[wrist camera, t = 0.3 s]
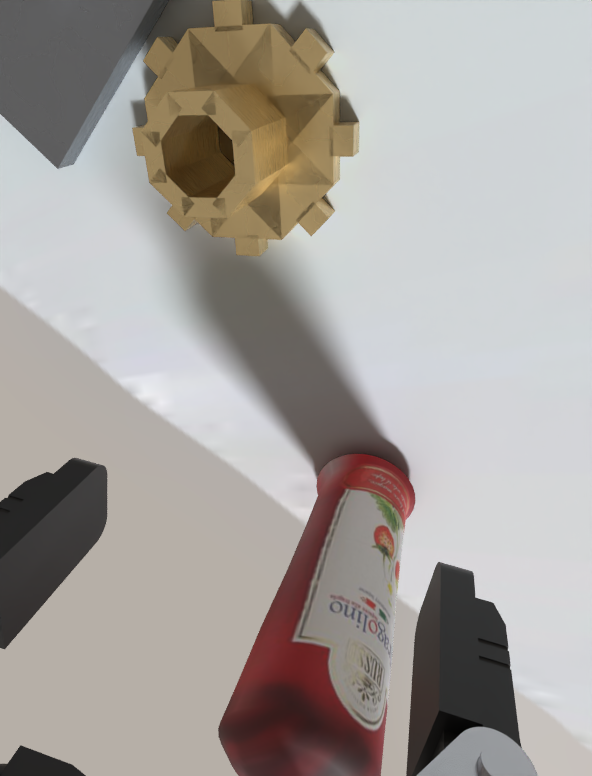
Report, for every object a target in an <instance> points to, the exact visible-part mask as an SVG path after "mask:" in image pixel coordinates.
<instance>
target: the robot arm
mask: <svg viewBox="0 0 592 776" xmlns="http://www.w3.org/2000/svg"><path fill="white" fill-rule="evenodd" d="M106 520H107V470H106V468H105V466H103V465H99V464H96V463H92V462H89V461H85V460H81V459H78V458H73V459H71V460H69V461H68V462H67V463H66V464H65V465H63V466H62V467H61V468H60V469H59V470H58V471H56V472H55V473H54V474H52V473H49V472H46V473H44V474H41V475H39V476H37V477H34V478H32V479H30V480H27V481H25V482H24V483H23V484H22V485H20V486H19V487H18V488H17V489H15V490H14V491H13V492H12V493H11V494H9V496H8V498H4V499H3V500H2V501H1V502H0V648H2V649H5V648H6V647H7V646H8V645H9V644H10V642H11V641H12V640H13V639H14V638H15V637H16V635H17V634H18V633H19V632H20V631H21V630H22V628H23V627H24V626H25V625H26V624H27V623H28V621H29V620H30V619H31V618H32V617H33V616H34V615H35V613H36V612H37V611H38V610H39V609H40V607H41V606H42V605H43V604H44V603H45V602H46V601H47V599H48V598H49V597H50V596H51V595H52V593H53V592H54V591H55V590H56V589H57V588H58V586H59V585H60V584H61V583H62V582H63V581H64V579H65V578H66V577H67V576H68V575H69V574H70V573H71V571H72V570H73V569H74V568H75V567H76V566H77V564H78V563H79V562H80V561H81V560H82V559H83V557H84V556H85V555H86V554H87V553H88V552H89V550H90V549H91V548H92V547H93V546H94V544H95V543H96V542H97V541H98V540H99V538H100V536H101V534H102V532H103V530H104V527H105V524H106ZM0 776H85V775H84V774H83V773H81V772H80V771H79V770H78V769H77V768H75V767H74V766H73V765H71V764H68V763H66V762H63V761H61V760H58V759H55V758H52V757H50V756H47V755H44V754H42V753H39V752H37V751H34V750H31V749H29V748H26V747H23V746H20V747H19V748H18V750H17V751H16V753H15V754H14V755H13V757H12V759H11V760H10V761H9V763H8V764H0ZM407 776H538V775H537V772H536V770H535V768H534V765H533V764H532V762H531V760H530V759H529V757H528V756H527V755H526V753H525V752H524V750H522V747H521V743H520V738H519V731H518V722H517V714H516V706H515V698H514V689H513V681H512V673H511V670H510V657H509V651H508V641H507V633H506V625H505V623H504V621H503V620H502V618H501V616H500V614H499V612H498V611H497V609H496V607H495V605H494V603H492V602H488V601H485V600H482V599H478V598H475V586H474V575H473V572H472V571H469V570H465V569H462V568H458V567H455V566H451V565H448V564H444V563H441V562H438V564H437V565H436V568H435V570H434V573H433V576H432V579H431V582H430V585H429V587H428V590H427V593H426V596H425V599H424V602H423V605H422V607H421V610H420V614H419V618H418V622H417V627H416V633H415V642H414V659H413V675H412V692H411V709H410V725H409V742H408V758H407Z"/></svg>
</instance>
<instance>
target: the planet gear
mask: <svg viewBox="0 0 592 776" xmlns="http://www.w3.org/2000/svg"><path fill="white" fill-rule="evenodd" d="M212 5H213V16H214V26H215V27H204V28H188V29H187V31H186V33H185V34H184V36H183V37H182V39H181V41H180V42H179V44H178V43H177V42H176V41H175V40H174V39H173V38H172V37H157V38H156V40H155V42H154V43H153V45H152V47H151V48H150V50H149V52H148V54H147V55H146V57H145V59H144V60H143V62H144V63H145V64H146V65H147V66H148V67H149V68H150V69H151V70H152V71H153V72H154V73H155V74H156V75H157V76H158V78H157V79H156V81H155V82H154V84H153V86H152V87H151V89H150V90H149V92H148V94H147V95H146V97H145V98H144V100H145V106H146V112H147V118H148V122H147V123H146V125H142V126H138V127H134V128H132V129H133V135H134V141H135V146H136V152H137V156H145V159H146V165H147V171H148V177H149V183H150V184H151V185H152V186H153V187H154V188H155V189H156V190H157V191H158V192H159V193H160V194H162V195H163V196H164V197H165V198H166V199H167V200H168V201H169V202H170V203H171V204H172V207H171V208H170V209H169V211H168V212H167V214H168V215H169V216H170V217H171V218H172V219H173V220H174V221H175V222H176V223H177V224H178V225H179V226H180V227H181V228H182V229H183V230H184V231H186V230H187V229H189V228H191V227H192V226H194V225H195V224H196V223H197V222H198V223H199V224H200V225H201V226H202V227H203V228H204V229H205V230H206V231H207V232H208V233H209V234H210V235H211V236H212V237H230V238H235V244H236V254H237V255H246V256H260V255H261V254H262V253H264V252H265V251H266V250H267V249H268V242H267V239H277V240H282V239H283V238H284V237H285V236H286V235H287V234H288V233H289V232H290V231H291V230H292V229H293V228H294V227H295V226H296V225H297V224H298V223H299V224H300V225H301V226H302V227H303V228H304V229H305V230H306V231H307V232H308V233H309V234H310V235H311V236H312V235H313V234H314V233H315V232H316V231H317V230H318V229H319V228H320V227H321V226H322V225H323V224H324V223H325V222H326V221H327V220H328V219H329V217H330V216H331V215H332V214H333V213H334V212H335V211H334V210H333V209H332V208H331V206H330V205H329V204H328V203H327V202H326V201H325V200H324V199H323V198H322V197H323V196H324V195H325V194H326V193H327V192H328V191H329V190H330V189H331V188H332V187H333V186H334V185H335V184H336V183H337V182H338V180H339V179H340V156H352V157H353V156H354V155H355V154H357V153H358V152H359V122H340V91H339V90H338V89H337V88H336V87H335V86H334V85H333V83H332V82H331V81H330V80H329V79H328V78H327V77H326V76H325V74H324V73H323V72H322V71H321V68H322V67H323V66H324V65H325V63H326V62H327V61H328V60H329V58H330V57H331V56H332V55H333V53H334V51H333V50H332V49H331V48H330V47H329V46H328V44H327V43H326V42H325V41H324V40H323V39H322V38H321V36H320V35H319V34H318V33H317V32H316V31H315V30H314V29H309V28H306V29H305V30H304V31H303V33H302V34H301V35H300V37H299V38H298V39H297V41H296V42H295V41H294V40H293V38H292V37H291V36H290V35H289V34H288V33H287V32H286V31H285V29H284V28H283V27H282V26H281V25H280V24H271V23H270V24H254V25H253V16H252V1H248V0H221V1H212ZM218 126H219V127H220V128H221V129H222V130H223V131H224V132H225V133H226V134H227V135H228V137H229V138H230V139H231V140H232V143H233V154H234V165H235V166H234V165H233V164H232V163H231V162H230V161H229V160H228V159H227V158H226V157H225V156H224V155H223V154H222V153H221V152H220V144H219V134H218Z"/></svg>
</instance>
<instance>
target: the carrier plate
mask: <svg viewBox="0 0 592 776" xmlns="http://www.w3.org/2000/svg"><path fill="white" fill-rule="evenodd" d="M168 1H169V0H0V114H1V115H2V116H3V117H4V118H5V119H6V120H7V121H8V122H9V123H11V124H12V125H13V126H14V127H15V128H16V129H17V130H18V131H19V132H20V133H21V134H22V135H23V136H24V137H25V138H26V139H27V140H28V141H29V142H30V143H31V144H32V145H33V146H35V147H36V148H37V149H38V150H39V151H40V152H41V153H42V154H43V155H44V156H45V157H46V158H47V159H48V160H49V161H50V162H51V163H52V164H53V165H54V166H55V167H56V168H57V169H59V168H62V167H66V166H69V165H72V164H74V162H75V160H76V159H77V157H78V155H79V154H80V152H81V150H82V148H83V147H84V145H85V143H86V142H87V140H88V138H89V136H90V135H91V133H92V131H93V130H94V128H95V126H96V124H97V123H98V121H99V119H100V118H101V116H102V114H103V112H104V111H105V109H106V107H107V106H108V104H109V102H110V100H111V99H112V97H113V95H114V94H115V92H116V90H117V88H118V87H119V85H120V83H121V82H122V80H123V78H124V76H125V75H126V73H127V71H128V70H129V68H130V66H131V64H132V63H133V61H134V59H135V58H136V56H137V54H138V52H139V51H140V49H141V47H142V46H143V44H144V42H145V40H146V39H147V37H148V35H149V34H150V32H151V30H152V28H153V27H154V25H155V23H156V22H157V20H158V18H159V16H160V15H161V13H162V11H163V10H164V8H165V6H166V4H167V3H168Z"/></svg>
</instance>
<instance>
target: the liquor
mask: <svg viewBox="0 0 592 776" xmlns="http://www.w3.org/2000/svg"><path fill="white" fill-rule="evenodd" d="M317 492H318V497H317V500H316V502H315V505H314V507H313V510H312V512H311V515H310V517H309V520H308V522H307V525H306V527H305V530H304V532H303V534H302V537H301V539H300V541H299V544H298V546H297V549H296V551H295V554H294V556H293V558H292V560H291V563H290V565H289V568H288V570H287V572H286V574H285V576H284V579H283V581H282V583H281V585H280V587H279V590H278V591H277V594H276V596H275V598H274V600H273V602H272V604H271V607H270V609H269V611H268V613H267V615H266V618H265V620H264V622H263V624H262V626H261V629H260V631H259V633H258V636H257V638H256V641H255V643H254V645H253V648H252V650H251V652H250V655H249V658H248V660H247V662H246V664H245V667H244V669H243V672H242V674H241V676H240V679H239V681H238V683H237V686H236V688H235V690H234V692H233V695H232V697H231V699H230V702H229V704H228V706H227V708H226V711H225V713H224V716H223V718H222V720H221V722H220V726H219V728H218V729H219V730H218V731H219V738H220V741H221V744H222V746H223V748H224V750H225V752H226V754H227V756H228V758H229V761H230V763H231V765H232V767H233V768H234V770H235V771H236V773H237V774H238V775H239V776H381V765H382V755H383V744H384V733H385V724H386V714H387V705H388V696H389V686H390V677H391V665H392V651H393V638H394V637H393V636H394V624H395V610H396V599H397V589H398V580H399V570H400V561H401V551H402V543H403V535H404V528H405V520H406V519H407V518H408V517H409V516H410V514H411V513H412V511H413V509H414V505H415V493H414V489H413V486H412V484H411V483H410V481H409V479H408V478H407V477H406V475H405V474H404V473H403V472H402V471H401V470H400V469H399V468H397V467H396V466H395V465H393V464H391V463H390V462H388V461H386V460H384V459H381V458H379V457H376V456H371V455H367V454H349V455H344V456H340V457H337V458H335V459H333V460H331V461H330V462H329V463H327V464H326V465H325V466H324V467H323V469H322V470H321V471H320V473H319V476H318V479H317Z"/></svg>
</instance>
